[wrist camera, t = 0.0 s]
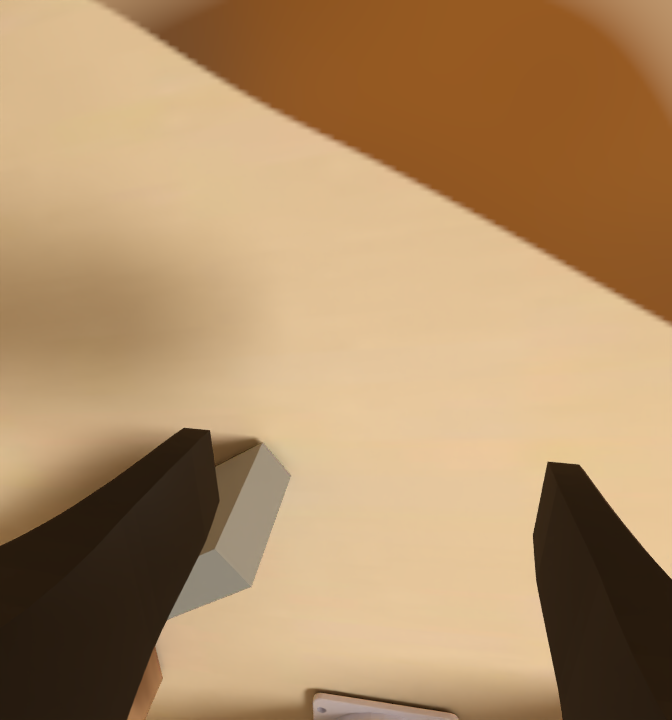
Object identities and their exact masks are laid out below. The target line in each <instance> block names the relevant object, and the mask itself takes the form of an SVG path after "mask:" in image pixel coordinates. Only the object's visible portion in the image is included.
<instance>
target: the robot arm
mask: <svg viewBox="0 0 672 720" xmlns="http://www.w3.org/2000/svg"><path fill="white" fill-rule="evenodd" d="M219 502H220V499H219V492H218V485H217V478H216V470H215V463H214V456H213V449H212V442H211V434H210V430H201V429H190V428H183V429H182V430H180V431H179V432H177V433H176V434H174V435H173V436H172V437H170V438H169V439H168V440H166V441H165V442H164V443H162V444H161V445H160V446H158V447H157V448H156V449H154V450H153V451H152V452H150V453H149V454H148V455H146V456H145V457H144V458H142V459H141V460H140V461H138V462H137V463H135V464H134V465H133V466H131V467H130V468H129V469H127V470H126V471H124V472H123V473H122V474H120V475H119V476H118V477H116V478H115V479H113V480H112V481H110V482H109V483H107V484H106V485H104V486H103V487H101V488H100V489H98V490H97V491H95V492H94V493H92V494H91V495H89V496H88V497H86V498H85V499H83V500H82V501H80V502H79V503H77V504H76V505H74V506H73V507H71V508H70V509H68V510H66V511H65V512H63V513H61V514H60V515H58V516H56V517H55V518H53V519H51V520H49V521H48V522H46V523H44V524H42V525H40V526H39V527H37V528H35V529H33V530H31V531H30V532H28V533H26V534H24V535H22V536H20V537H18V538H16V539H14V540H12V541H10V542H8V543H6V544H4V545H1V546H0V720H127V719H128V716H129V713H130V710H131V707H132V705H133V702H134V699H135V696H136V693H137V691H138V688H139V686H140V683H141V680H142V678H143V675H144V672H145V670H146V667H147V664H148V662H149V659H150V657H151V654H152V651H153V649H154V647H155V644H156V642H157V640H158V638H159V636H160V633H161V631H162V629H163V627H164V625H165V623H166V621H167V619H168V617H169V615H170V613H171V611H172V609H173V607H174V605H175V603H176V601H177V599H178V597H179V595H180V593H181V591H182V589H183V587H184V585H185V583H186V581H187V579H188V577H189V575H190V573H191V571H192V569H193V567H194V565H195V563H196V561H197V559H198V557H199V555H200V553H201V551H202V549H203V547H204V544H205V542H206V540H207V537H208V534H209V531H210V529H211V526H212V523H213V520H214V517H215V514H216V511H217V508H218V505H219ZM533 544H534V559H535V571H536V582H537V587H538V592H539V598H540V603H541V608H542V613H543V618H544V622H545V627H546V632H547V637H548V642H549V647H550V652H551V657H552V661H553V666H554V671H555V676H556V681H557V686H558V691H559V698H560V704H561V710H562V718H563V720H672V579H671V578H670V577H669V576H668V575H667V574H666V573H665V572H664V570H663V569H662V568H661V567H660V566H659V565H658V564H657V563H656V562H655V561H654V559H653V558H652V557H651V556H650V555H649V554H648V552H647V551H646V550H645V549H644V548H643V547H642V545H641V544H640V543H639V542H638V540H637V539H636V538H635V537H634V536H633V534H632V533H631V532H630V531H629V529H628V528H627V527H626V526H625V525H624V523H623V522H622V521H621V519H620V518H619V517H618V516H617V514H616V513H615V512H614V510H613V509H612V508H611V506H610V505H609V504H608V502H607V501H606V500H605V499H604V497H603V496H602V494H601V493H600V492H599V490H598V489H597V488H596V486H595V485H594V484H593V482H592V481H591V479H590V478H589V477H588V475H587V474H586V472H585V471H584V470H583V469H582V467H581V466H580V465H577V464H567V463H556V462H548V463H547V468H546V473H545V478H544V483H543V488H542V493H541V498H540V503H539V508H538V513H537V518H536V523H535V528H534V533H533ZM313 720H459V719H458V717H457V716H456V715H454V714H452V713H447V712H441V711H435V710H428V709H422V708H415V707H409V706H403V705H396V704H390V703H384V702H377V701H371V700H364V699H358V698H352V697H345V696H339V695H333V694H326V693H317V694H315V695H314V698H313Z"/></svg>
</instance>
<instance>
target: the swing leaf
mask: <svg viewBox="0 0 672 720" xmlns="http://www.w3.org/2000/svg"><path fill="white" fill-rule="evenodd" d="M215 470H216V478H217V485H218V492H219V499H220V502H219V505H218V508H217V511H216V514H215V517H214V520H213V523H212V526H211V529H210V531H209V534H208V537H207V540H206V542H205V544H204V547H203V549H202V551H201V553H200V555H199V557H198V559H197V561H196V563H195V565H194V567H193V569H192V571H191V573H190V575H189V577H188V579H187V581H186V583H185V585H184V587H183V589H182V591H181V593H180V595H179V597H178V599H177V601H176V603H175V605H174V607H173V609H172V611H171V613H170V615H169V617H168V619H170V618H173V617H175V616H178V615H181V614H183V613H186V612H188V611H191V610H193V609H196V608H198V607H201V606H204V605H206V604H209V603H211V602H214V601H216V600H219V599H221V598H224V597H227V596H229V595H232V594H234V593H237V592H239V591H242V590H244V589H247V588H250V587H251V586H252V584H253V581H254V578H255V575H256V572H257V570H258V567H259V564H260V561H261V558H262V556H263V553H264V550H265V547H266V544H267V541H268V539H269V536H270V533H271V530H272V527H273V525H274V522H275V519H276V516H277V513H278V511H279V508H280V505H281V502H282V499H283V497H284V494H285V491H286V488H287V485H288V482H289V480H290V477H291V475H290V473H289V472H288V471H287V470H286V469H285V468H284V466H283V465H282V464H281V463H280V462H279V461H278V460H277V458H276V457H275V456H274V455H273V454H272V453H271V451H270V450H269V449H268V448H267V447H266V446H265V444H264V443H263V442H262V443H260V444H259V445H257V446H255V447H253V448H251V449H249V450H247V451H245V452H243V453H241V454H239V455H237V456H235V457H233V458H231V459H229V460H227V461H225V462H224V463H222V464H220V465H218V466H216V467H215ZM168 619H167V620H168Z"/></svg>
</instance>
